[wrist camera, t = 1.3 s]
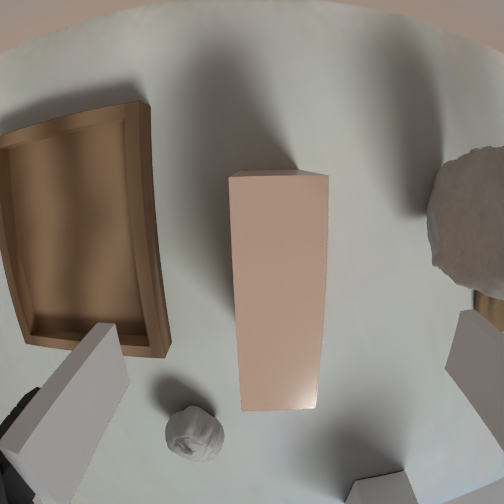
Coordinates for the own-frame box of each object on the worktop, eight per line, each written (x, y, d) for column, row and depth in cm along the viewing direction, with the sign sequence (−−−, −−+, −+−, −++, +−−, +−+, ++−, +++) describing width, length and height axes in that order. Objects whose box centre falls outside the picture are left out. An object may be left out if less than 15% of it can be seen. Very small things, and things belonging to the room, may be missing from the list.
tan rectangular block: (245, 330, 24) (241, 411, 16) (239, 170, 21) (228, 177, 12) (297, 329, 24) (315, 407, 16) (298, 169, 21) (328, 175, 12)
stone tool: (429, 137, 20) (594, 138, 6) (461, 149, 20) (618, 164, 6) (408, 255, 23) (542, 359, 8) (439, 260, 23) (571, 354, 8)
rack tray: (38, 331, 25) (25, 343, 23) (7, 139, 20) (-11, 139, 18) (171, 341, 25) (164, 358, 22) (150, 106, 20) (138, 100, 17)
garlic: (160, 399, 27) (146, 438, 22) (215, 393, 26) (208, 435, 21) (182, 439, 28) (174, 477, 23) (233, 435, 28) (230, 475, 23)
